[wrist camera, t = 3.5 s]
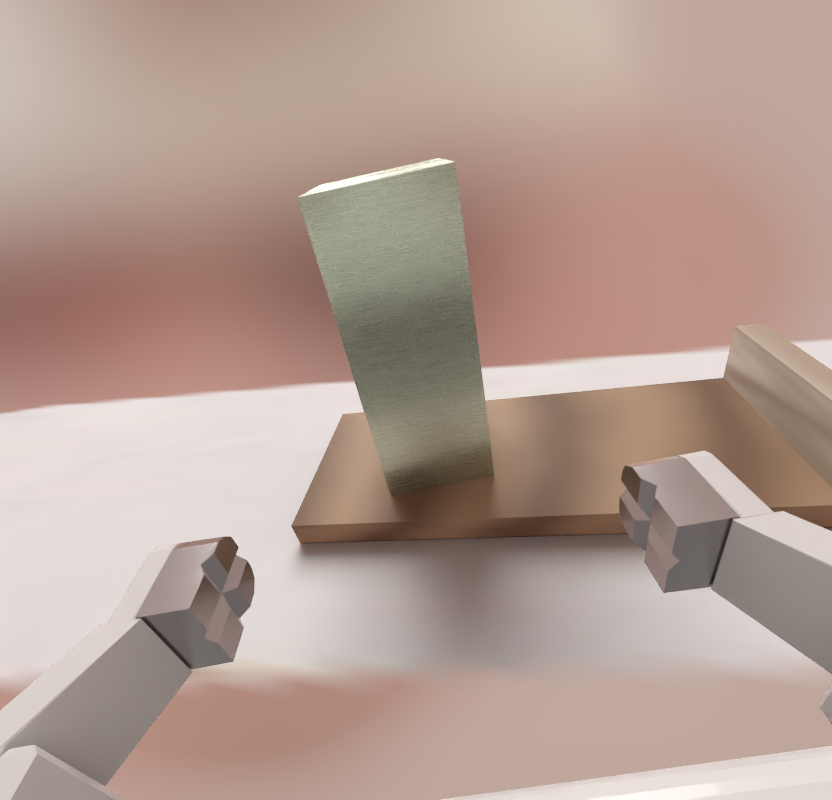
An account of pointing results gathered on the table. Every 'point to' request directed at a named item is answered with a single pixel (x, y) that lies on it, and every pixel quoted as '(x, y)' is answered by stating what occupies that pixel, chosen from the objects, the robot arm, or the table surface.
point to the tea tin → (406, 318)
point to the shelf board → (598, 454)
